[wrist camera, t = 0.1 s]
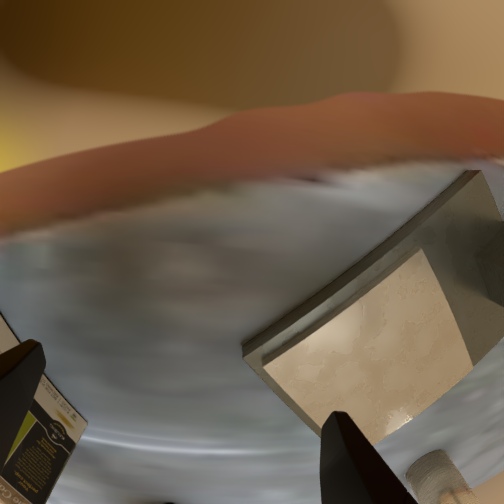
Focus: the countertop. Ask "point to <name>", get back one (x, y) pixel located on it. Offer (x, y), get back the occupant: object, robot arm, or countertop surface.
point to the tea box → (38, 441)
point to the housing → (439, 481)
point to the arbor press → (395, 319)
